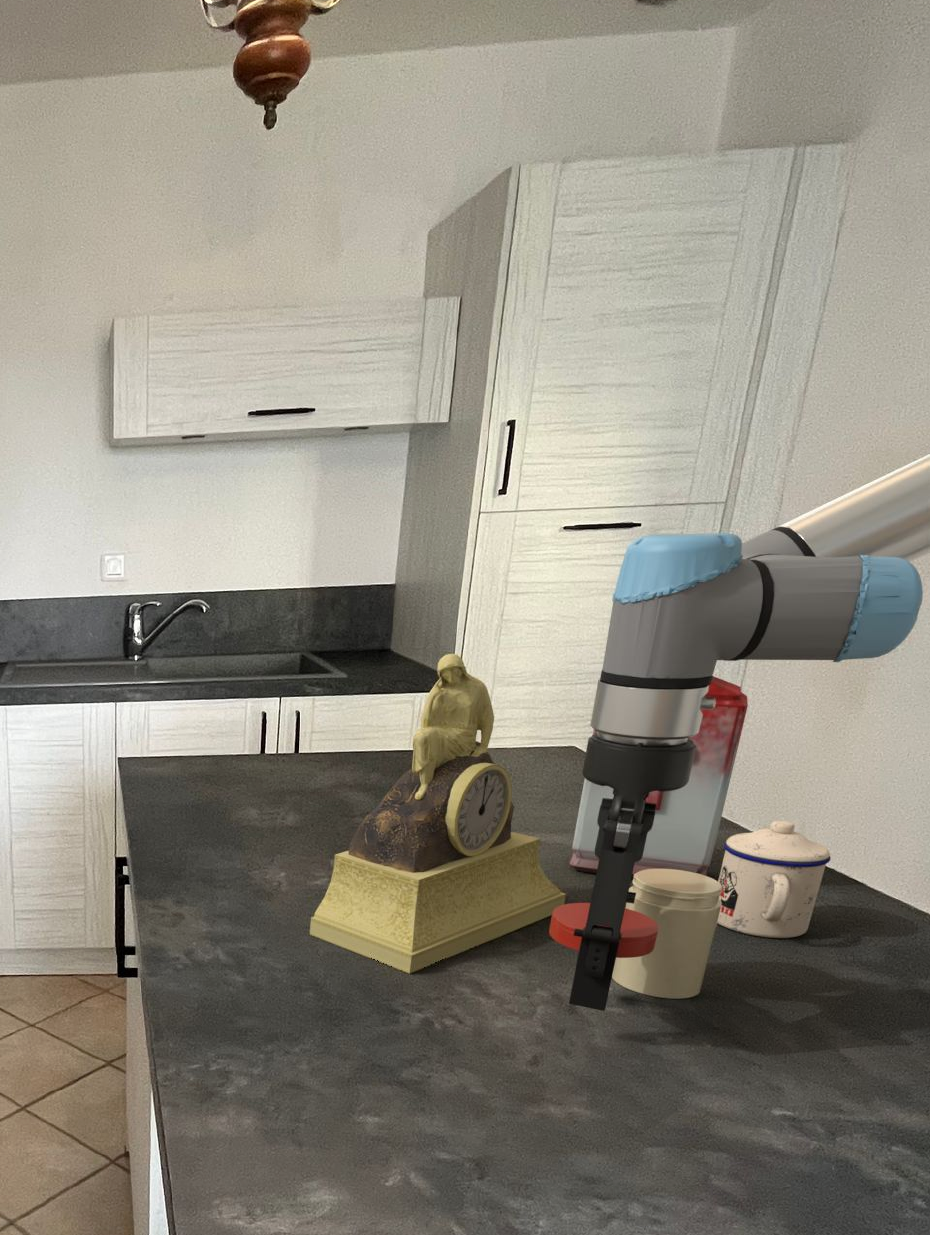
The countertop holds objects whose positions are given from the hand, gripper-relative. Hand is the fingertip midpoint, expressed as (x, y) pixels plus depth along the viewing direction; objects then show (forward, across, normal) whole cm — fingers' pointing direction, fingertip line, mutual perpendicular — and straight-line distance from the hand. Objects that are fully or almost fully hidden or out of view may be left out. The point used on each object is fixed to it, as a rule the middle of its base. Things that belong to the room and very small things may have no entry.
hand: (591, 986), depth 88 cm
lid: (-6, 0, 0) cm, 6 cm away
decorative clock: (+4, +18, +16) cm, 24 cm away
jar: (+3, +12, -5) cm, 13 cm away
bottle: (+4, +47, -2) cm, 47 cm away
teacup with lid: (+4, +32, -14) cm, 35 cm away
